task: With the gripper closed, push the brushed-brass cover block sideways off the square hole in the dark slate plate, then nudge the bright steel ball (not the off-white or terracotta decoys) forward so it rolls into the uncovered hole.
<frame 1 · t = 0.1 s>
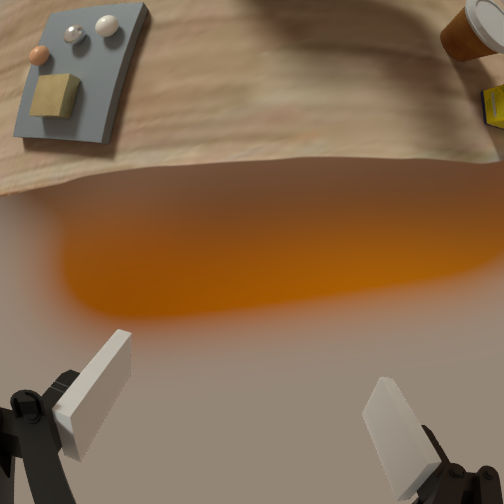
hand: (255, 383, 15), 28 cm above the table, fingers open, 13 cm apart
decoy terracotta: (39, 55, 31), point 4 cm above the table, touching slate plate
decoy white: (107, 26, 31), point 4 cm above the table, touching slate plate
brass cover: (54, 96, 33), point 4 cm above the table, slide at 0.0 cm
slate plate: (77, 71, 36), on the table
disposable coffee cup: (454, 45, 34), on the table
steel ball: (74, 34, 31), point 4 cm above the table, touching slate plate
supplement box: (492, 110, 36), on the table
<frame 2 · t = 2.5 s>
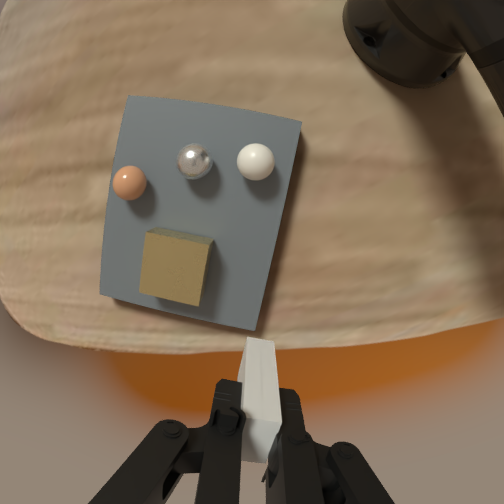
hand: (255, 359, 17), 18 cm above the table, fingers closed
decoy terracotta: (129, 183, 28), point 4 cm above the table, touching slate plate
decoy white: (255, 161, 28), point 4 cm above the table, touching slate plate
brass cover: (175, 265, 30), point 4 cm above the table, slide at 0.0 cm
slate plate: (193, 210, 33), on the table
steel ball: (194, 161, 28), point 4 cm above the table, touching slate plate
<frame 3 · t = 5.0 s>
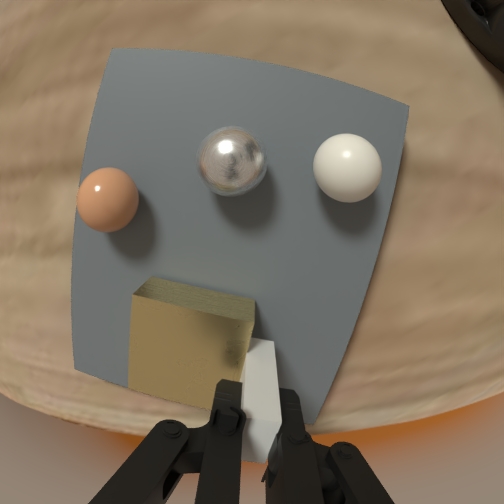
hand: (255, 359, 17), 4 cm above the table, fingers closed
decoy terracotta: (107, 199, 15), point 4 cm above the table, touching slate plate
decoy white: (347, 167, 14), point 4 cm above the table, touching slate plate
brass cover: (189, 346, 17), point 4 cm above the table, slide at 0.4 cm, touching gripper
slate plate: (220, 244, 20), on the table
steel ball: (231, 161, 14), point 4 cm above the table, touching slate plate
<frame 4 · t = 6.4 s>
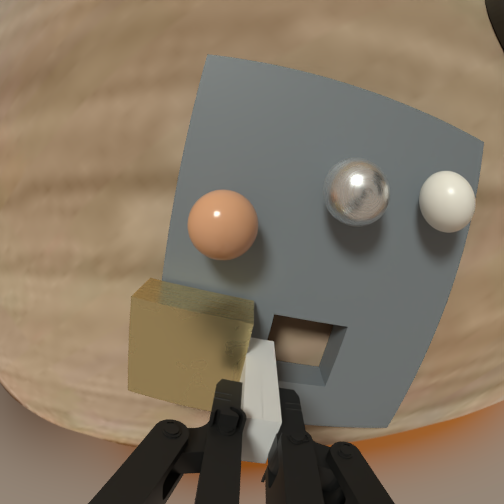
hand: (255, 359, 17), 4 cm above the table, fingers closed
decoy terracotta: (222, 224, 15), point 4 cm above the table, touching slate plate
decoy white: (447, 201, 15), point 4 cm above the table, touching slate plate
brass cover: (188, 348, 16), point 4 cm above the table, slide at 6.6 cm, touching gripper
slate plate: (316, 266, 20), on the table
steel ball: (356, 192, 15), point 4 cm above the table, touching slate plate
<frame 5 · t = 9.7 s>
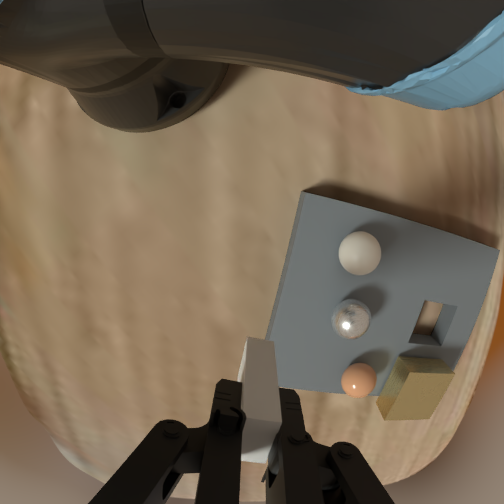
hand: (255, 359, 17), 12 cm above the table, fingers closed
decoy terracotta: (358, 380, 26), point 4 cm above the table, touching slate plate
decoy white: (359, 253, 23), point 4 cm above the table, touching slate plate
brass cover: (415, 389, 26), point 4 cm above the table, slide at 6.7 cm
slate plate: (384, 308, 29), on the table
steel ball: (351, 319, 25), point 4 cm above the table, touching slate plate
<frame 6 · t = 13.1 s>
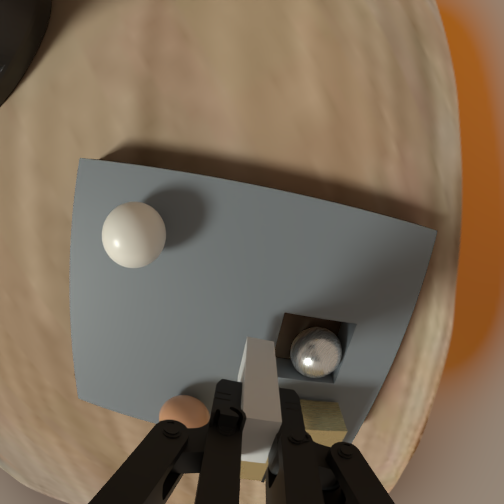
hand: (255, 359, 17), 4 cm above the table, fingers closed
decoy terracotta: (184, 419, 18), point 4 cm above the table, touching slate plate
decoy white: (133, 234, 15), point 4 cm above the table, touching slate plate
brass cover: (286, 443, 18), point 4 cm above the table, slide at 6.7 cm
slate plate: (234, 320, 21), on the table
steel ball: (316, 352, 19), point 2 cm above the table, tilted 38°
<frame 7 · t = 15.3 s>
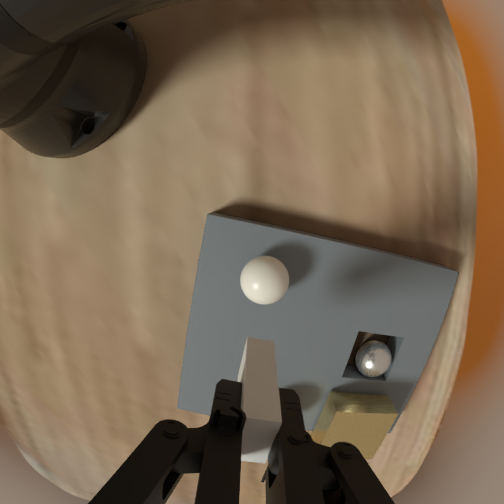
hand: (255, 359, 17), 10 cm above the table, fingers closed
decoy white: (264, 280, 22), point 4 cm above the table, touching slate plate
brass cover: (352, 427, 24), point 4 cm above the table, slide at 6.7 cm
slate plate: (315, 338, 27), on the table
steel ball: (373, 358, 26), point 2 cm above the table, tilted 35°
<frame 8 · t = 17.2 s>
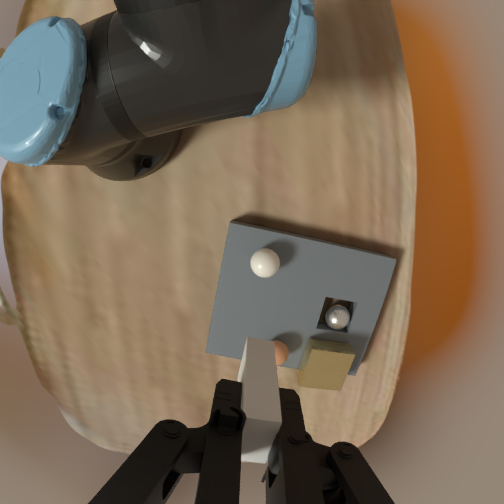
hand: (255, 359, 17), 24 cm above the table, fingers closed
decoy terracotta: (275, 353, 39), point 4 cm above the table, touching slate plate
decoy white: (265, 262, 37), point 4 cm above the table, touching slate plate
brass cover: (324, 365, 40), point 4 cm above the table, slide at 6.7 cm
slate plate: (298, 302, 42), on the table
steel ball: (337, 317, 41), point 2 cm above the table, tilted 33°
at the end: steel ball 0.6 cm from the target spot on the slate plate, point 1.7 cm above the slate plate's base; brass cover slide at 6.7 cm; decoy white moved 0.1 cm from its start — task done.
